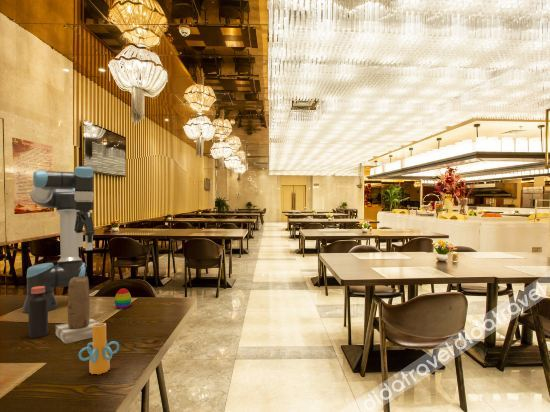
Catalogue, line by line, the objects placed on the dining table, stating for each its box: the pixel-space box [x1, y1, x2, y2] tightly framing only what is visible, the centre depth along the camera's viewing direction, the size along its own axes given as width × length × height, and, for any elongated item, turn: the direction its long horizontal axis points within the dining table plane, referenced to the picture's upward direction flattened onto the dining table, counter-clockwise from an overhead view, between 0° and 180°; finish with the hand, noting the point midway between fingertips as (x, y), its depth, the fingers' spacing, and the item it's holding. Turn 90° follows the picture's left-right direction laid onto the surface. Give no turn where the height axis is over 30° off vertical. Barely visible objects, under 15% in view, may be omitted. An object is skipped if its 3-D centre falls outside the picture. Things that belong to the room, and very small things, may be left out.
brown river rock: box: [67, 275, 91, 328], centre depth 153 cm, size 11×8×20 cm
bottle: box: [28, 286, 49, 339], centre depth 153 cm, size 7×7×20 cm
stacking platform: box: [55, 317, 99, 345], centre depth 153 cm, size 14×14×4 cm
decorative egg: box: [114, 287, 132, 310], centre depth 195 cm, size 8×8×10 cm
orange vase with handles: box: [78, 322, 120, 375], centre depth 120 cm, size 12×10×15 cm
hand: (84, 248), depth 166 cm, fingers open, 13 cm apart
